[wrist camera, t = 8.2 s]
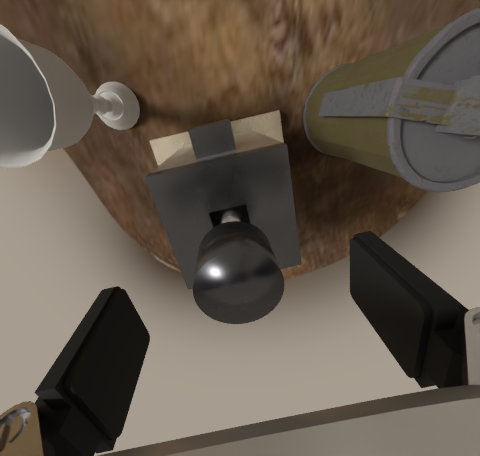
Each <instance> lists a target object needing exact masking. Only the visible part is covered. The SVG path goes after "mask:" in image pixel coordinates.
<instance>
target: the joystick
mask: <svg viewBox="0 0 480 456" xmlns="http://www.w3.org/2000/svg"><path fill="white" fill-rule="evenodd" d="M150 144H151V147H152V149H153V152H154V155H155V158H156V161H157V163H158V167H157V168H156V169H154V170H153V171H152V172H151V173H150V174H148V175H147V176H146V177H145V179H146V182H147V184H148V187H149V189H150V192H151V195H152V197H153V200H154V202H155V205H156V207H157V210H158V213H159V215H160V218H161V220H162V223H163V226H164V228H165V231H166V233H167V236H168V238H169V241H170V244H171V246H172V249H173V251H174V254H175V257H176V259H177V262H178V264H179V267H180V269H181V272H182V275H183V277H184V280H185V282H186V285H187V288H188V289H192V288H193V284H194V277H195V270H196V264H197V257H198V251H199V246H200V243H201V241H202V239H203V238H204V236H205V235H206V234H207V233H208V232H209V231H210V230H211V229H212V228H214V227H216V226H217V225H220V224H222V218H221V210H223V209H228V208H232V207H236V206H238V209H239V213H240V218H241V221H242V222H247V223H250V224H252V225H254V226H256V227H258V228H259V229H260V230H261V231H263V233H264V234H265V235H266V236H267V238H268V240H269V242H270V245H271V247H272V250H273V252H274V255H275V257H276V260H277V262H278V265H279V267H280V269H283V268H287V267H292V266H296V265H301V256H300V248H299V239H298V231H297V223H296V214H295V206H294V198H293V190H292V181H291V173H290V165H289V156H288V148H287V144H285V143H284V141H283V133H282V125H281V117H280V110H277V111H273V112H269V113H264V114H260V115H256V116H252V117H247V118H243V119H239V120H235V121H230V120H229V119H222V120H218V121H213V122H209V123H205V124H201V125H198V126H195V127H193V128H191V129H189V130H188V132H183V133H179V134H175V135H171V136H166V137H162V138H158V139H154V140H150Z"/></svg>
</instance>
